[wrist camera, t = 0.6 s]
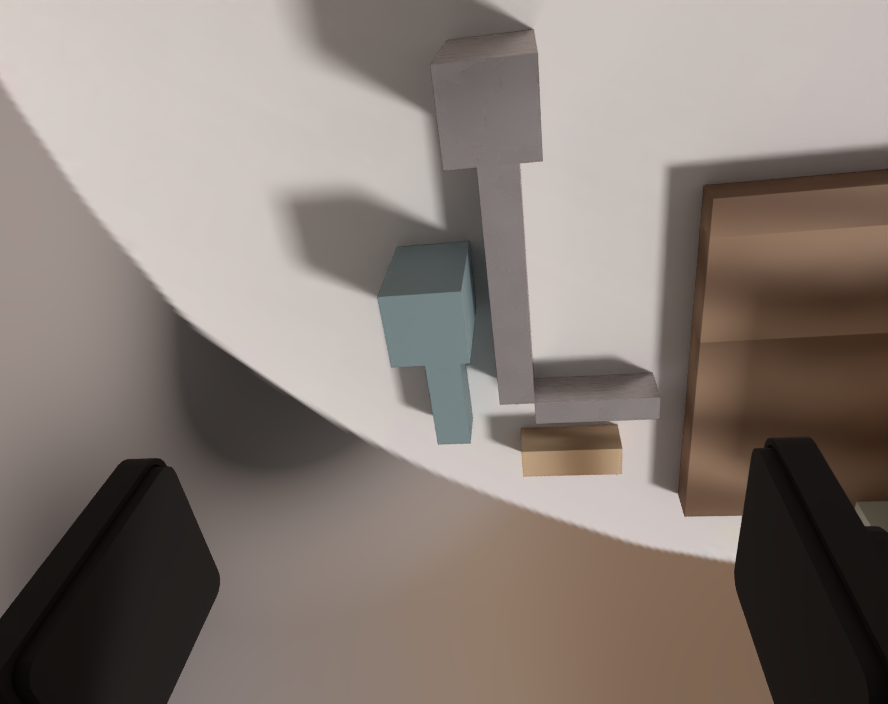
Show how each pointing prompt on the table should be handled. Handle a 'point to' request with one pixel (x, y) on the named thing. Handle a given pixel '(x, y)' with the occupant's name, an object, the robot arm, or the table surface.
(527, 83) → the crook
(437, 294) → the light blue l-shaped block
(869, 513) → the cubby
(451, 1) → the table surface
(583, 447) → the short block
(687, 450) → the deck
